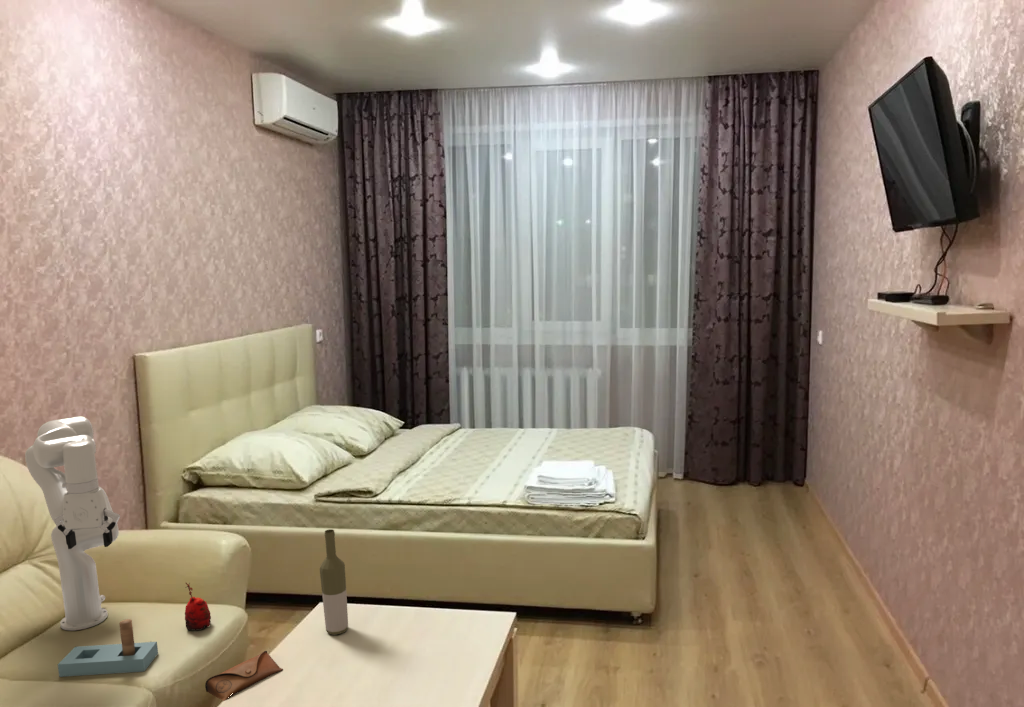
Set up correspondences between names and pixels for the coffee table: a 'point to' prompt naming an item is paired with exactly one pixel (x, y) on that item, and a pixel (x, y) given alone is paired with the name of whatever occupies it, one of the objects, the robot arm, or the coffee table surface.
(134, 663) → the hole block
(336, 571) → the bottle
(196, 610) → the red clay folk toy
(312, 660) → the coffee table surface
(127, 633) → the peg
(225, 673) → the sunglasses case
